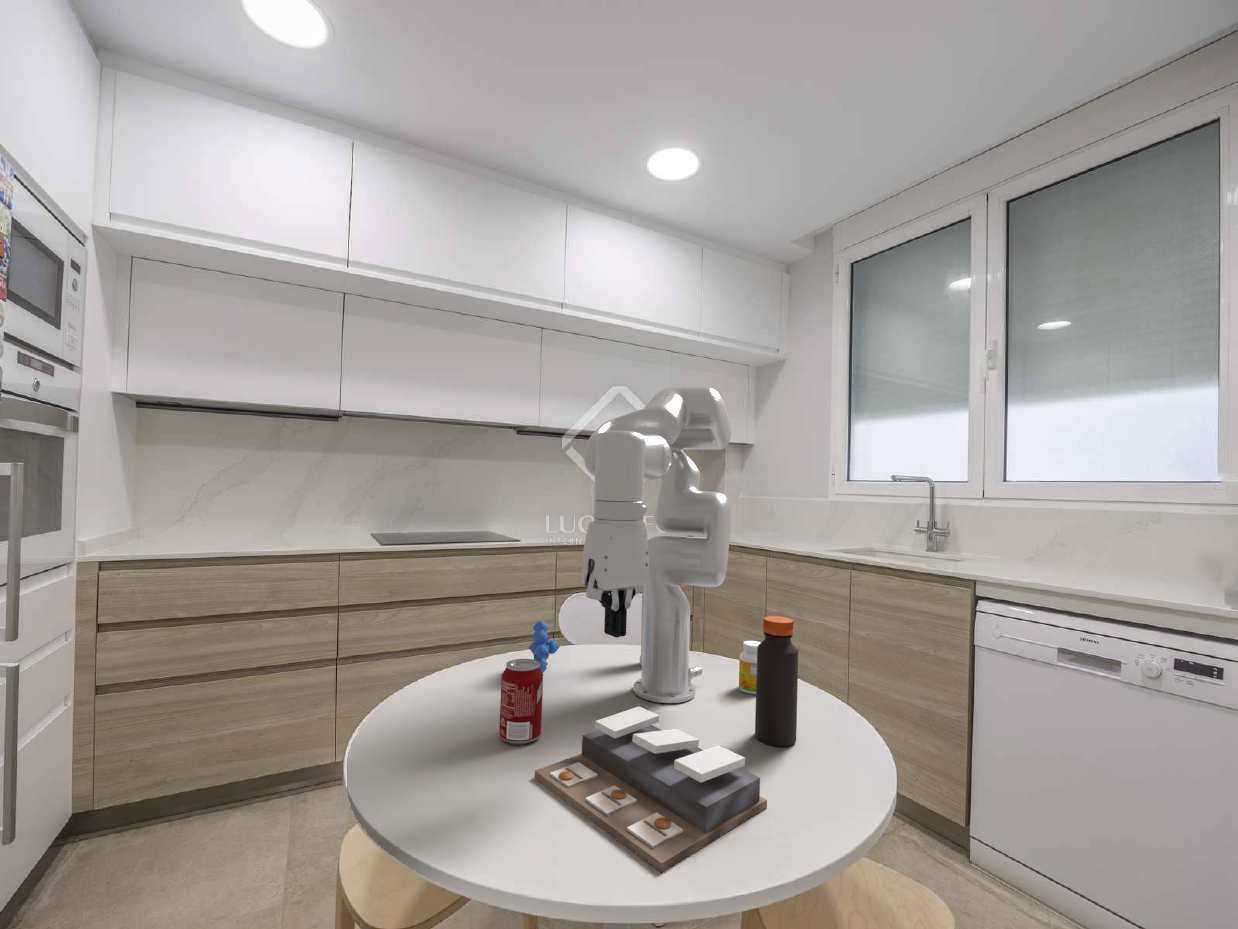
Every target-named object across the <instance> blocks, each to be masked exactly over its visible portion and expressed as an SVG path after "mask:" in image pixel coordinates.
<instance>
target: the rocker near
mask: <svg viewBox="0 0 1238 929" xmlns="http://www.w3.org/2000/svg"><path fill="white" fill-rule="evenodd" d="M702 750H703V751H700V752H697V753H694V754H691V755H688V756H685V757H682V758H679V759H676V760H675V762H674V768H675V769H677V770H679V771H680V772H682V773H684V774H686V775H688V776H690V777H691V778H693V779H695V780H697V781H699V782H704V781H707V780H709V779H712V778H714V777H717V776H719V775H722V774H725V773H727V772H730V771H732V770H735V769H737V768H743V767H745V766H746V765H745V764H746V757H745V756H742V755H740V754H738V753H735V752H734V751H732V750H729V749H727V748H725V747H723V746H720V745H716V746H713V747H710V748H706V749H702Z"/></svg>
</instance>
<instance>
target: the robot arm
mask: <svg viewBox="0 0 1238 929" xmlns="http://www.w3.org/2000/svg"><path fill="white" fill-rule="evenodd" d="M731 437H732V423H731V419H730V417H729V413H728V410H727V408H726V404H725V402H724V399H723V398H722V396H721V395H720V393H719V392H718V391H717V390H716V389H715V388H712V387H709V386H692V387H691V386H685V387H676V386H675V387H667V388H664V389H662V390H660V391H658V392H657V393H656V394H655V395H654V396H653V397H652V398H651V400H650V401H649V402H648V403H647V404H646V405H645V406H644V408H641V409H638V410H637V409H636V410H635V411H632V412H630V413H627V414H623V415H620V416H617V417H615V418H612V419H609V420H607V421H605V422H603V423H602V424H601V425H600V426H598V427H597V429H595V431H593V433H592V434H591V435H590V437H589V438H588V439H587V442H586V445H585V448H584V453H583V460H584V461H583V462H584V466H585V468H586V470H587V472H588V473H590V475H591V476H593V477H594V496H593V497H594V498H593V499H594V500H593V501H594V503H593V521H589V522H588V525H587V530H586V533H585V538H584V539H585V540H584V543H583V544H584V546H583V552H582V560H581V561H582V562H581V575H580V576H581V580H580V581H581V585H582V586H583V587H586V588H587V590H586V593H585V596H586V598H588V599H590V600H594V601H598V602H599V603H600V605H601V607H602V608H603V609H604V622H603V623H604V626H603V628H604V631H603V632H604V634H605V635H608V636H611V637H614V638H621V637H625V636H627V622H628V621H627V616H628V609H630V607H631V605H632V600H633V599H634V597H635V596H636V595H639V594H642V593H643V592H644V616H643V646H642V666H641V676H640V677H641V678H639V679H637V680H636V681H635V682H634V683H633V686H632V688H633V692H634V694H635V695H636V696H637V697H639V698H641V699H644V700H646V701H650V702H654V703H660V704H679V703H684V702H687V701H690V700H691V699H694V697H695V696H696V687H695V686H694V684H693V683H692V681H691V680H693V679H694V678H696V677H700V676H702V674H703V669H702V667H701V666H699V665H697V666H694V667H690V666H689V662H690V660H689V659H690V630H691V629H690V627H691V625H690V624H691V605H690V603H689V602H690V601H689V599H688V598H687V596H686V594H685V592H684V591H683V590H682V588H681V586H692V587H693V586H695V587H705V588H717V587H719V586H721V585H722V584H723V583H724V581H725V579H726V577H727V576H726V575H727V571H728V570H727V569H728V561H729V550H730V538H731V528H732V507H731V502H730V499H729V498H728V497H727V496H726V495H725V494H724V493H722V492H719V491H709V490H708V491H707V490H706V491H705V490H700V484H701V472H700V470H699V468H698V467H697V465H696V464H695V463H694V461H693V460H692V459H691V458H690V457H689V456H688V455H687V454H686V453H685V452H684V450H687V451H688V450H690V451H696V450H697V451H720V450H723V449H725V448H726V447H728V445H729V443H730V440H731ZM658 479H661V480H660V485H659V492H658V498H657V504H656V511H655V522H656V527H657V528H658V529H659V530H660V531H661V532H663V533H666V534H671V535H659V536H654V537H650V538H649V539H648V534H647V532H648V531H647V526H646V522H645V521H644V514H645V513H646V511H647V507H646V505H645V504H644V503H645V481H654V480H658ZM672 535H678V536H672ZM679 535H680V536H679ZM681 535H682V536H681ZM685 536H697V537H704V538H697V537H685Z"/></svg>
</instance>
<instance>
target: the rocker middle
mask: <svg viewBox="0 0 1238 929" xmlns="http://www.w3.org/2000/svg"><path fill="white" fill-rule="evenodd" d="M661 730H662V731H654V732H645V733H637V734H633V739H632V742H634V743H636V744H638V745H640V746H641V747H643V748H645V749H647V750H649V751H651V752H653V753H655V754H657V753H663V752H670V751H676V750H682V749H688V748H695V747H698V748H699V743H700V739H699V738H696V737H694V736H692V735H691V734H688V733H686V732H684V731H682V730H679V729H677V728H672V729H665V730H663V729H661Z"/></svg>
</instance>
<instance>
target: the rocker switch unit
mask: <svg viewBox="0 0 1238 929" xmlns="http://www.w3.org/2000/svg"><path fill="white" fill-rule="evenodd" d="M662 730H663V729H661V728H658V727H657V726H655V725H654V724H652V725H650V726H647V727H644V728H642V729H639V730H636V731H634V732H631V733H629V734H626V735H623V736H621V737H618V738H613V737H611V736H609V735H607V734H606V733H604V732H602V731H600V730H598V729H596V730H594V731H591V732H587V733H585V734H582V736H581V753H579V754H577V755H573V756H570V757H569V758H566V759H562V760H560V761H557V762H554V763H552V764H549V765H547V766H544V767H541V768H539V769H538V768H537V769H535V770H534V778H535V780H537V781H538V782H540V783H541V784H542V785H544V786H545V787H546V788H547V789H549V790H551V791H552V792H553V793H555V795H557V796H559V798H560V799H563V800H564V801H565V802H566V803H567V804H569V805H570V806H572V807H573V808H574V809H576V810H577V811H578V812H580V813H582V814H583V815H584V816H585V817H586V818H587V819H589V820H591V821H592V822H593V823H595V825H597V826H599V827H600V828H601V829H602V830H604V831H605V832H607V833H608V834H610V835H611V836H612V837H613V838H614V839H616V840H617V841H618V842H620V843H621V844H623V845H624V846H625V847H626V848H628V849H629V850H631V851H632V852H633V853H635V854H636V855H637V856H638V857H639V858H641V859H642V860H643V861H645V862H647V863H648V864H649V865H651V866H652V867H653V868H655V869H656V870H657V871H659V873H664V872H665V871H667V870H668V869H670V868H671V867H673V866H675V865H676V864H677V863H679V862H681V861H683V860H684V859H686V858H688V857H689V856H691V855H692V854H694V853H696V852H698V851H699V850H701V849H702V848H704V847H706V846H708V845H709V844H711V843H712V842H713V841H716V839H718V838H720V837H722V836H723V835H725V834H727V833H728V832H729V831H732V830H734V829H735V828H736V827H738V826H739V825H741V824H743V823H744V822H746V821H748V820H749V819H751V818H752V817H754V816H755V815H757V814H759V813H761V812H762V811H764V810H765V809H767V808H768V799H766V798H764V797H762V796H761V794H760V793H761V792H760V790H761V789H760V787H761V777H760V776H757V775H755V774H754V773H751V772H750V771H747V770H745V769H743V768H742V767H740V768H737V769H735V770H732V771H730V772H727V773H725V774H722V775H719V776H717V777H714V778H712V779H709V780H707V781H704V782H699V781H697V780H695V779H693V778H691V777H690V776H688V775H686V774H684V773H682V772H680V771H679V770H677V769H675V768H674V762H675V760H676V759H679V758H682V757H685V756H688V755H691V754H694V753H697V752H700V751H703V750H704V749H702V748H700V747H699V746H698V747H695V748H688V749H682V750H676V751H670V752H663V753H657V754H655V753H653V752H651V751H649V750H647V749H645V748H643V747H641V746H640V745H638V744H636V743H634V742H632V739H633V734H637V733H645V732H654V731H662Z"/></svg>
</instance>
